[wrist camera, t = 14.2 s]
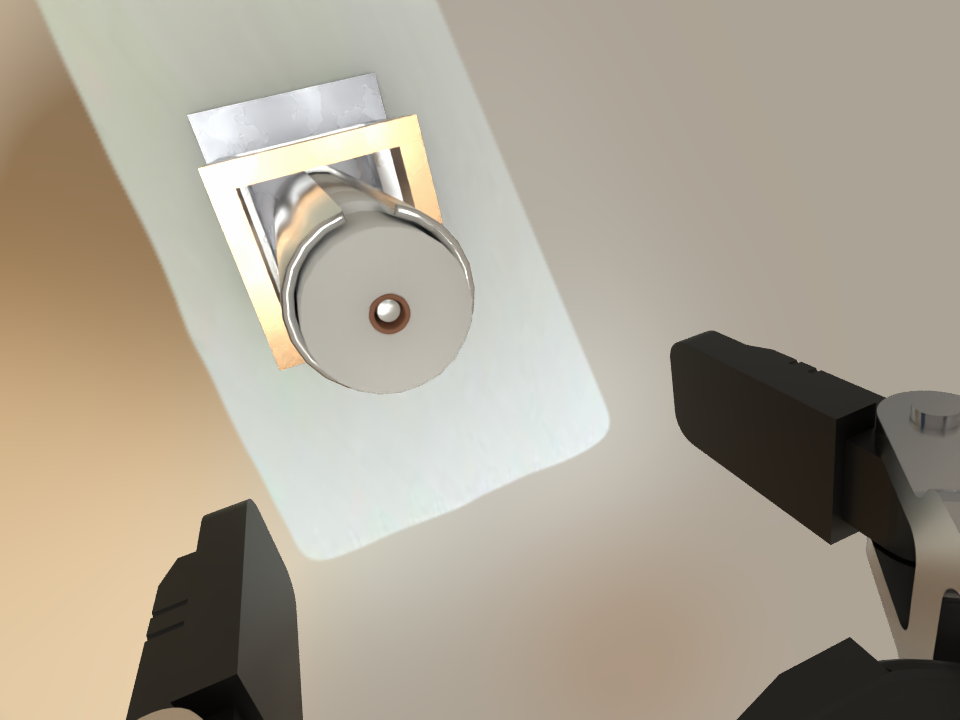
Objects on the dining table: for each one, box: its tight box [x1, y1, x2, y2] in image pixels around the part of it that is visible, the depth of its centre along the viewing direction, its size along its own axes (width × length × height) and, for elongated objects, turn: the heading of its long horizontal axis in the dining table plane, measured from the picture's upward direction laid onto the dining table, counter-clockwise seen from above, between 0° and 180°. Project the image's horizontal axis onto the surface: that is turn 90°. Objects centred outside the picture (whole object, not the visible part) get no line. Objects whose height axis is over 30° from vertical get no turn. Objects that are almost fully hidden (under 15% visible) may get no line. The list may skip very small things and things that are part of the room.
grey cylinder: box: [273, 166, 474, 394], centre depth 30 cm, size 6×6×25 cm
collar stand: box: [187, 72, 443, 371], centre depth 36 cm, size 16×12×14 cm
